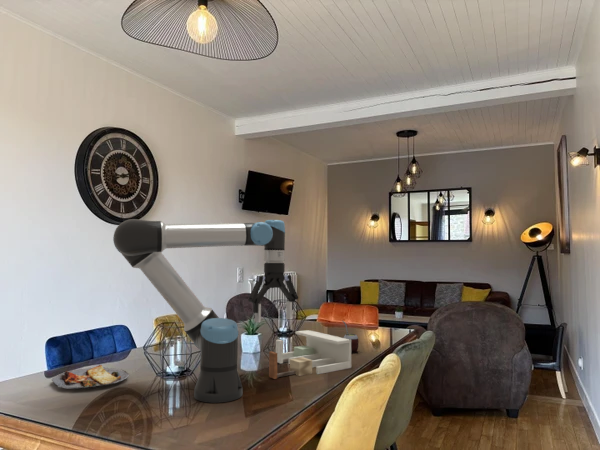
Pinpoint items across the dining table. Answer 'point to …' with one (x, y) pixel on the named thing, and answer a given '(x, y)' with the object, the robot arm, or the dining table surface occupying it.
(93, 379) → the food plate
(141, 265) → the robot arm
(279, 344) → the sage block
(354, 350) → the mate gourd
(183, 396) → the dining table surface
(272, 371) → the birch block
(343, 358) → the lane rack
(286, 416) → the dining table surface
